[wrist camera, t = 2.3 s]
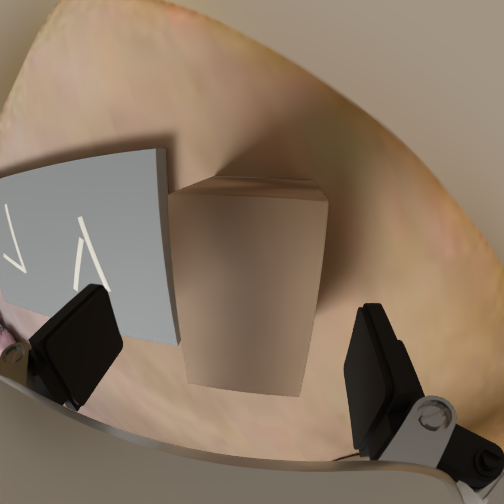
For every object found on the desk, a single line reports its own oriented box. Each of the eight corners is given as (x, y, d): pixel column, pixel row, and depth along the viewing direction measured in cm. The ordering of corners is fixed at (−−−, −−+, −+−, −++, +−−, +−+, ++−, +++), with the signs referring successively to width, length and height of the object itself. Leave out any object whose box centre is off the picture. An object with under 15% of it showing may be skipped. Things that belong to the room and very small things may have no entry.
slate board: (166, 148, 16) (155, 148, 15) (184, 334, 21) (177, 346, 20) (-12, 182, 20) (-22, 185, 18) (12, 296, 25) (5, 301, 23)
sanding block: (313, 180, 16) (328, 201, 10) (299, 323, 20) (299, 396, 13) (214, 175, 17) (167, 194, 10) (217, 315, 20) (188, 383, 14)
